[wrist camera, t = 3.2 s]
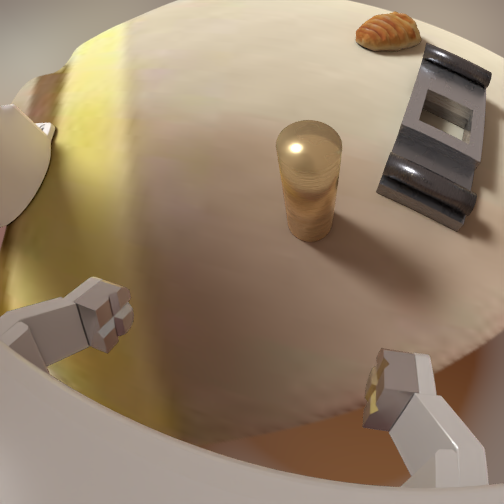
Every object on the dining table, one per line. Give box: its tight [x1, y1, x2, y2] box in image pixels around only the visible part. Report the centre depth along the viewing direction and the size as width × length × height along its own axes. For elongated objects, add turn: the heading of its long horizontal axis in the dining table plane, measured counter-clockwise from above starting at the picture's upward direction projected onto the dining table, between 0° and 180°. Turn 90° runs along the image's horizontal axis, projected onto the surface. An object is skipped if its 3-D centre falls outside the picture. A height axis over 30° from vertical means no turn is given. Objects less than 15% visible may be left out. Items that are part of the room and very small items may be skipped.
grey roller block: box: [376, 43, 492, 232], centre depth 24 cm, size 20×8×5 cm, turn 151°
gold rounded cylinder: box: [276, 120, 342, 242], centre depth 21 cm, size 4×4×10 cm
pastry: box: [356, 12, 421, 51], centre depth 31 cm, size 9×7×4 cm
